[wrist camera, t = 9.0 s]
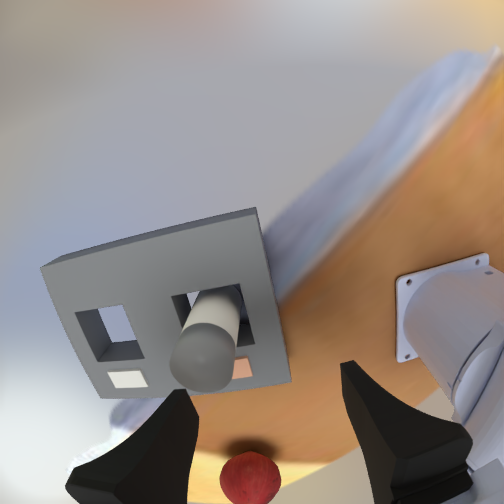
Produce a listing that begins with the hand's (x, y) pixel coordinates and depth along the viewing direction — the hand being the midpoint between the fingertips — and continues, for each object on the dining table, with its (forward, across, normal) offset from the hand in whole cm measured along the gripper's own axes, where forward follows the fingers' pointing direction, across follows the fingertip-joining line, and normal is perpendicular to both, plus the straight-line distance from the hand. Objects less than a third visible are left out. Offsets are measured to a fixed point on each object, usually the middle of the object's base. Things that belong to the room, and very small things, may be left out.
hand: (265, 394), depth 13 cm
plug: (+9, +3, -1) cm, 10 cm away
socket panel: (+9, +7, -1) cm, 12 cm away
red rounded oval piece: (+10, +5, +17) cm, 20 cm away
